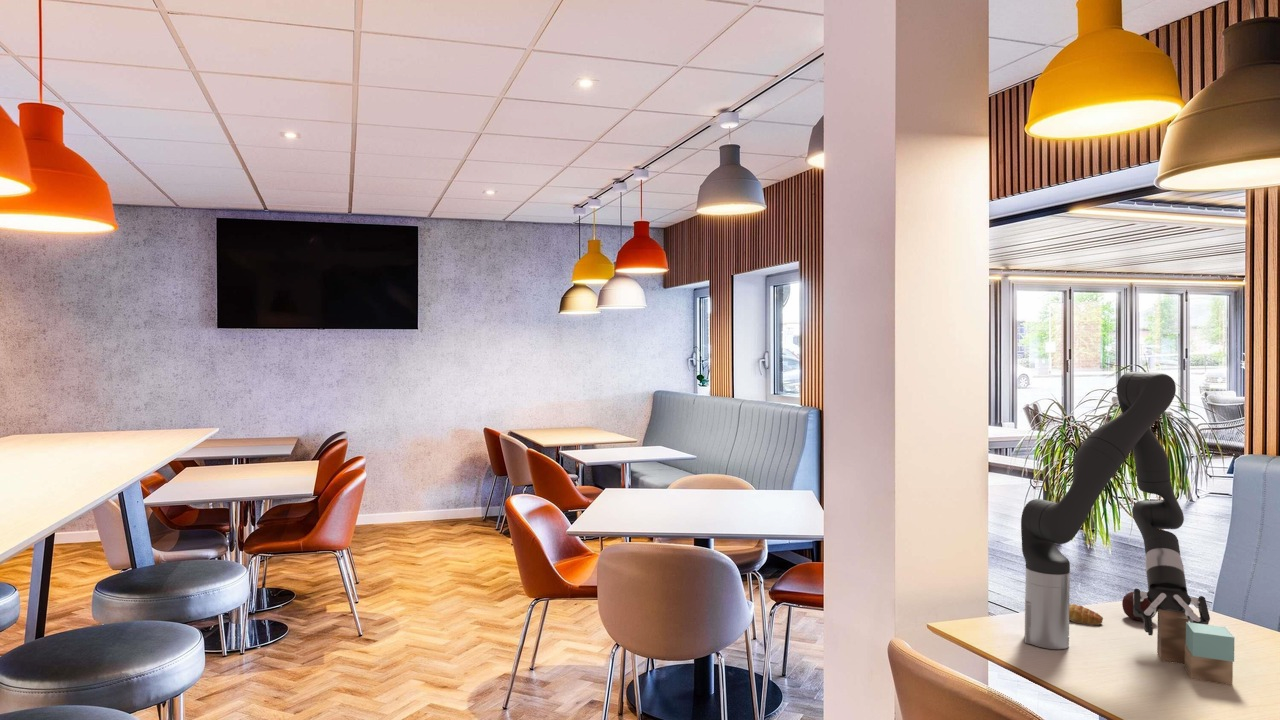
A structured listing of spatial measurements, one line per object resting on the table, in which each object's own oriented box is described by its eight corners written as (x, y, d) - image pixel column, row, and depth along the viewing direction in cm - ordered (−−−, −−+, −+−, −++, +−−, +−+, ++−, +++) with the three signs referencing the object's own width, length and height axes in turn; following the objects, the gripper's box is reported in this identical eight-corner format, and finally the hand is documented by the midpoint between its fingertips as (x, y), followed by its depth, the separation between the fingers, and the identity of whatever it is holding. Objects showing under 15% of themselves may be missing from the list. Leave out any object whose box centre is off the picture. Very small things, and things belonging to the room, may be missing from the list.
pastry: (1105, 622, 199) (1105, 607, 199) (1098, 629, 194) (1098, 613, 194) (1065, 614, 206) (1065, 599, 206) (1057, 620, 201) (1057, 605, 201)
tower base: (1191, 679, 163) (1191, 655, 163) (1184, 667, 170) (1184, 644, 170) (1232, 685, 160) (1232, 661, 160) (1223, 673, 167) (1224, 650, 167)
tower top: (1193, 656, 163) (1193, 632, 163) (1185, 644, 170) (1186, 621, 170) (1234, 661, 160) (1234, 637, 160) (1225, 650, 167) (1225, 626, 167)
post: (1160, 660, 173) (1161, 615, 173) (1157, 653, 178) (1157, 609, 178) (1188, 664, 171) (1188, 619, 171) (1183, 657, 176) (1184, 612, 176)
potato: (1132, 613, 206) (1132, 586, 206) (1163, 622, 199) (1163, 594, 199) (1115, 617, 203) (1115, 589, 203) (1145, 626, 196) (1146, 598, 196)
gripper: (1131, 560, 185) (1137, 623, 174) (1204, 567, 179) (1215, 633, 168) (1128, 577, 190) (1134, 639, 179) (1199, 585, 183) (1209, 650, 173)
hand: (1173, 636), depth 174 cm, fingers open, 8 cm apart
